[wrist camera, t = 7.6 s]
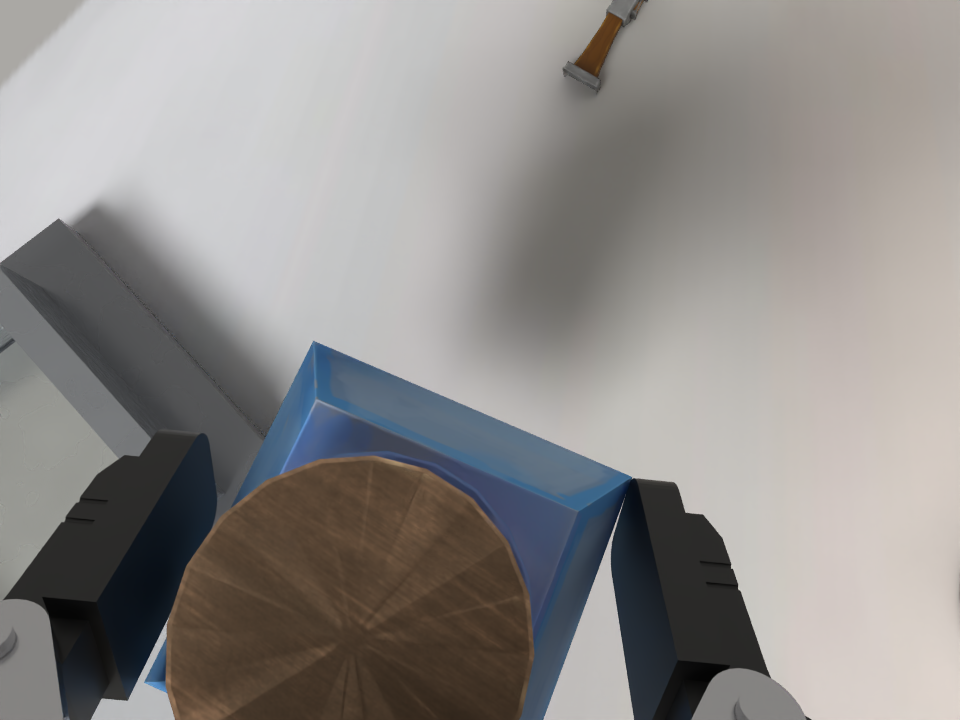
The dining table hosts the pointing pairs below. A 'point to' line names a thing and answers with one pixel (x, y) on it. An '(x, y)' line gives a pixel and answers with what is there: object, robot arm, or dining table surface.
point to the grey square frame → (90, 391)
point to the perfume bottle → (388, 563)
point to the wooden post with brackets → (602, 43)
